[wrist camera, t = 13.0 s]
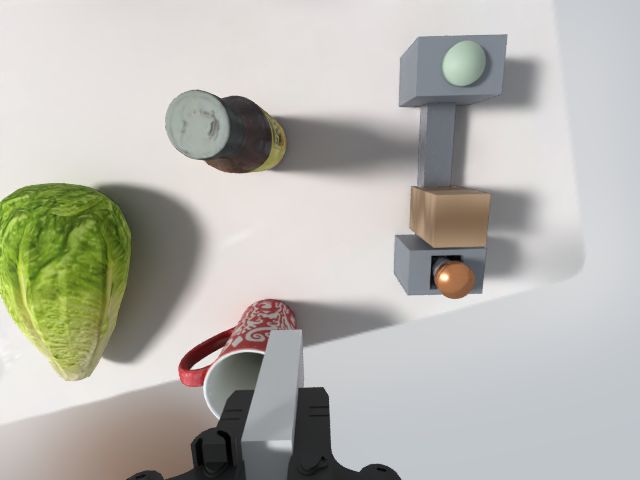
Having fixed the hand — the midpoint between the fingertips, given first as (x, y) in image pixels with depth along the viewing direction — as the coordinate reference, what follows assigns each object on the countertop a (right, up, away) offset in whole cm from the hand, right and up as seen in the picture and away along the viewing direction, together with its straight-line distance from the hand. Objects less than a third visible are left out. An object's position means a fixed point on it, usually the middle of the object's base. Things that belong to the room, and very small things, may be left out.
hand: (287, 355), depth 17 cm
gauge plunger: (+15, +3, +24) cm, 28 cm away
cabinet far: (+15, +4, +26) cm, 31 cm away
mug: (-7, -5, +29) cm, 30 cm away
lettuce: (-27, +1, +27) cm, 38 cm away
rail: (+15, +14, +24) cm, 31 cm away
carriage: (+15, +10, +25) cm, 31 cm away
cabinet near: (+14, +23, +21) cm, 35 cm away
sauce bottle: (-5, +17, +23) cm, 29 cm away
